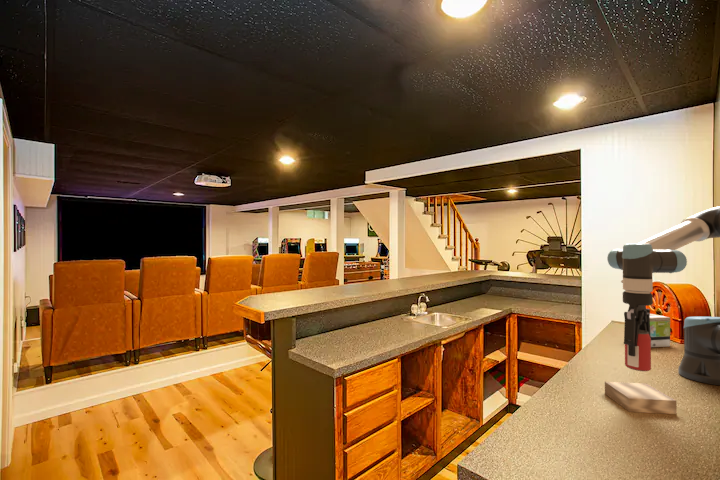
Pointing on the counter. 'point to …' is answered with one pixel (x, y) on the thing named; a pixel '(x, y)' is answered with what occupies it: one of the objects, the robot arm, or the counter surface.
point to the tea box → (659, 331)
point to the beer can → (642, 352)
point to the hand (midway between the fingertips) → (637, 363)
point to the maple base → (640, 397)
